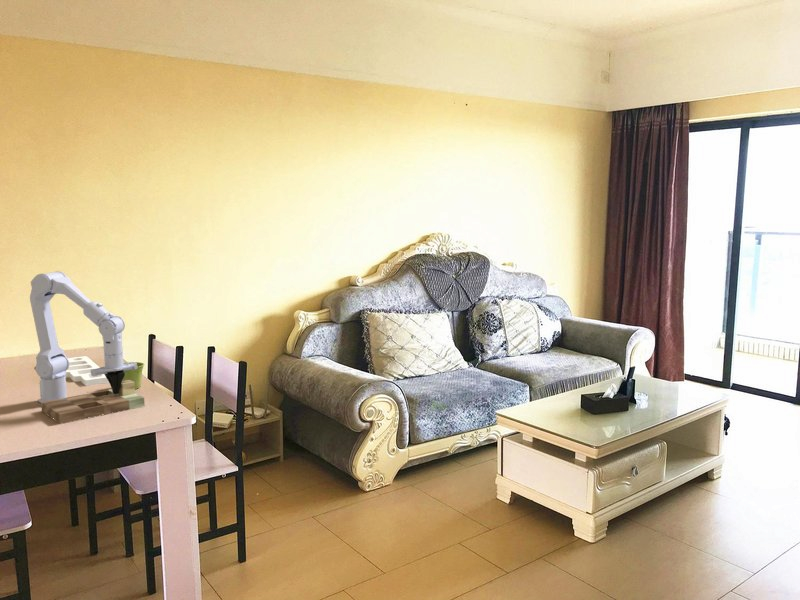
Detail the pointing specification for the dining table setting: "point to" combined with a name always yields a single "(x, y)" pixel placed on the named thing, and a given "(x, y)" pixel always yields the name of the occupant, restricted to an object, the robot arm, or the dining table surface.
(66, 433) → the dining table surface
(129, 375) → the plant pot
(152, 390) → the dining table surface
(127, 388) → the maple block
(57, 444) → the dining table surface
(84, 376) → the holder
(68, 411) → the trap board
